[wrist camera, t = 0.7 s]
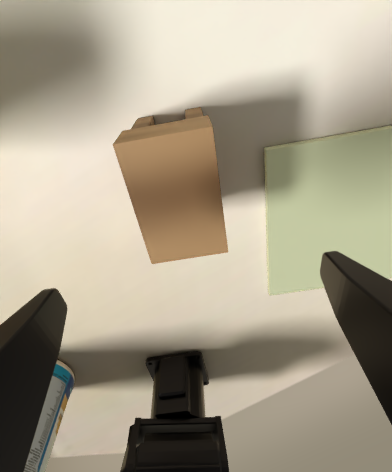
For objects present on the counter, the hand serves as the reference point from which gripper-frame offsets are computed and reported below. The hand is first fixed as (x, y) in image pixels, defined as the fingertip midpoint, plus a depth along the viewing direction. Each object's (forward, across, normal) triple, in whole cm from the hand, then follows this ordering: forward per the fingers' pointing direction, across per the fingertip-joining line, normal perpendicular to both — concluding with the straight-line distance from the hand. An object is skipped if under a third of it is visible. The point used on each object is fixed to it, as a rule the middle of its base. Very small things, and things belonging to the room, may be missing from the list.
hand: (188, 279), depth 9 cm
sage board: (+12, -13, +7) cm, 19 cm away
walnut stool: (+12, 0, 0) cm, 12 cm away
